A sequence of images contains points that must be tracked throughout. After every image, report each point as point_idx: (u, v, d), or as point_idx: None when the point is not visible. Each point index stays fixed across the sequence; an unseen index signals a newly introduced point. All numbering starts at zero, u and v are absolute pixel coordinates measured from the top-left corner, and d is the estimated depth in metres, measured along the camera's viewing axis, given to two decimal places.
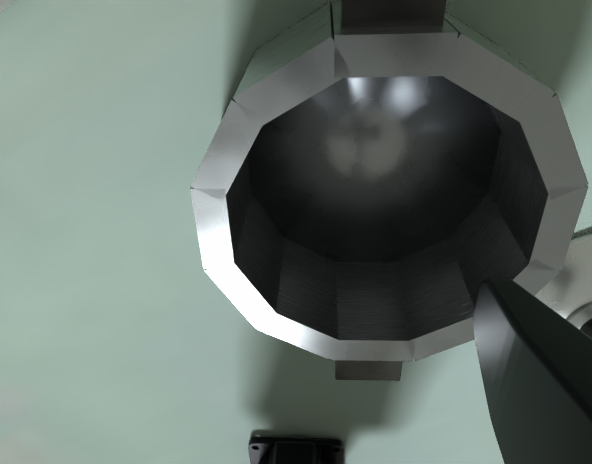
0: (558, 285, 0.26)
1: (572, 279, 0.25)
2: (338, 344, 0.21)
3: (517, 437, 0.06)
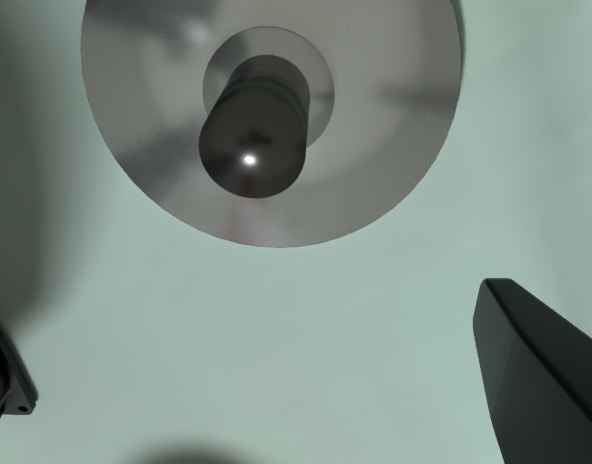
0: (165, 2, 0.15)
1: None
2: None
3: (517, 437, 0.06)
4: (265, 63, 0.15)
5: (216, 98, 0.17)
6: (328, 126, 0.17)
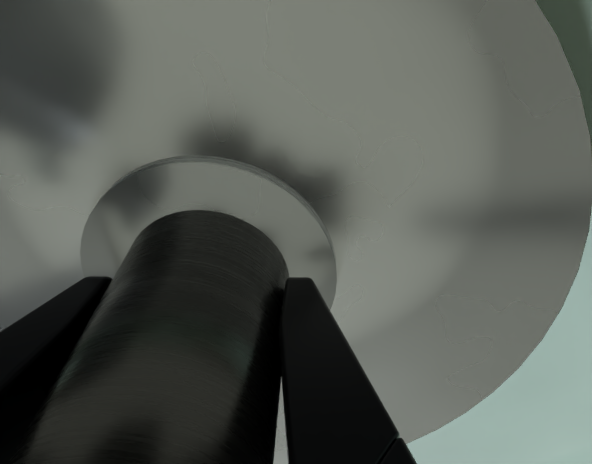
0: None
1: (14, 79, 0.07)
2: None
3: None
4: (189, 247, 0.07)
5: None
6: None
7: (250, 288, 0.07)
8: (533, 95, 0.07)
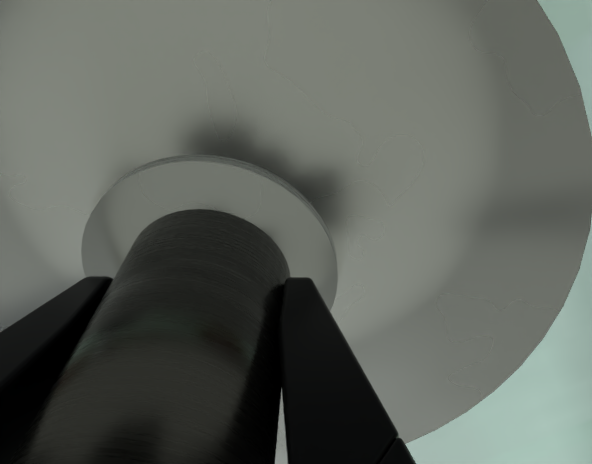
0: None
1: (16, 79, 0.07)
2: None
3: None
4: (190, 246, 0.07)
5: (111, 277, 0.09)
6: None
7: (251, 287, 0.07)
8: (534, 94, 0.07)
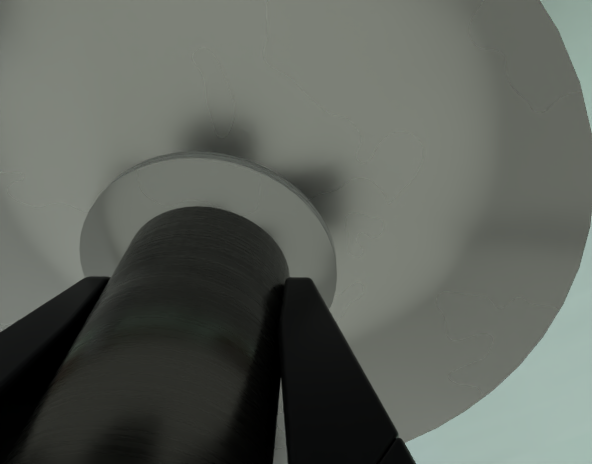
0: None
1: (13, 76, 0.07)
2: None
3: None
4: (189, 244, 0.07)
5: (109, 275, 0.09)
6: None
7: (250, 284, 0.07)
8: (534, 90, 0.07)
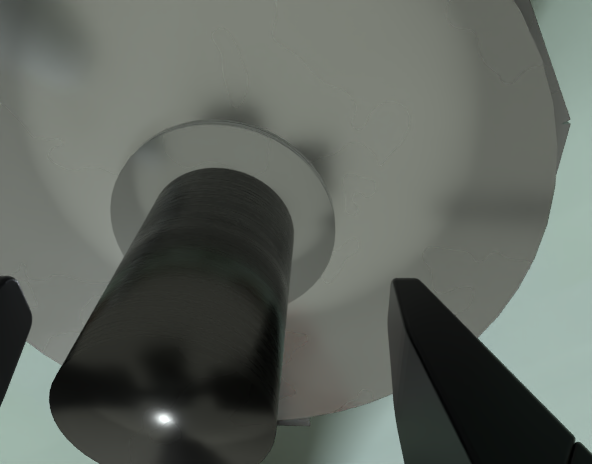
0: (32, 79, 0.09)
1: (59, 53, 0.08)
2: None
3: (410, 434, 0.07)
4: (208, 195, 0.08)
5: (136, 231, 0.10)
6: (325, 269, 0.11)
7: (261, 229, 0.08)
8: (503, 64, 0.08)
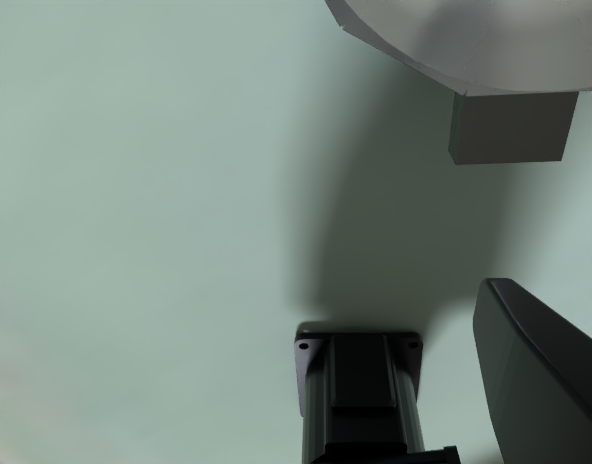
0: None
1: None
2: None
3: (517, 437, 0.06)
4: None
5: None
6: None
7: None
8: None
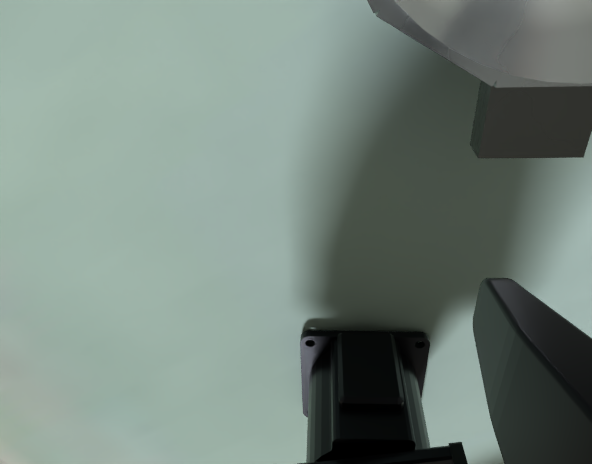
0: None
1: None
2: None
3: (517, 437, 0.06)
4: None
5: None
6: None
7: None
8: None
